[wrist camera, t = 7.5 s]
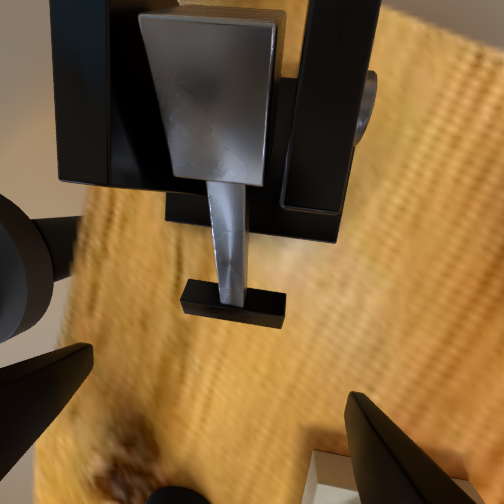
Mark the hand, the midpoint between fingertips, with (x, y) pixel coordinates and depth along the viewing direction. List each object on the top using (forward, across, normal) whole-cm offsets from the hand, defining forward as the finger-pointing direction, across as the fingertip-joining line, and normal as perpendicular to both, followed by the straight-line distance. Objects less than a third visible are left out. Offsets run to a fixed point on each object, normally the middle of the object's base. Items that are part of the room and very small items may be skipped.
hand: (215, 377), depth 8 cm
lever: (+2, 0, -5) cm, 6 cm away
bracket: (+8, 0, -8) cm, 11 cm away
